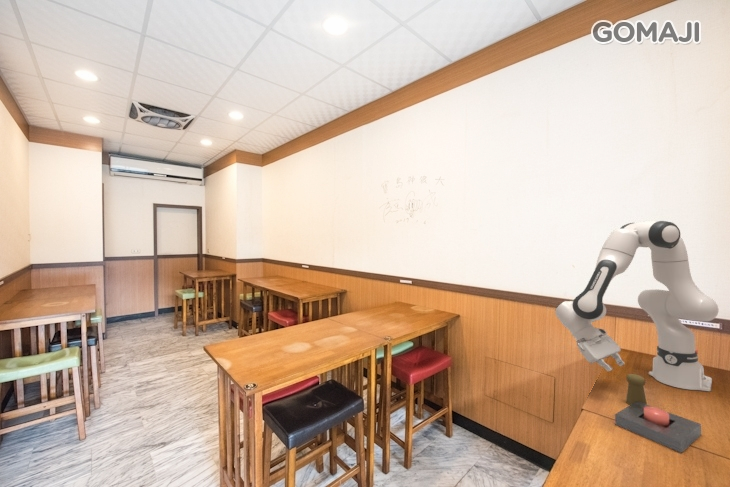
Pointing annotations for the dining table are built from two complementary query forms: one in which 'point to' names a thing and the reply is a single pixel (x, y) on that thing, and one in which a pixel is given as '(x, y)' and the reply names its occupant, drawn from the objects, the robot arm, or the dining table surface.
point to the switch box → (659, 427)
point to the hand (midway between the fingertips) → (616, 367)
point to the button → (656, 416)
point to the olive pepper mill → (635, 389)
